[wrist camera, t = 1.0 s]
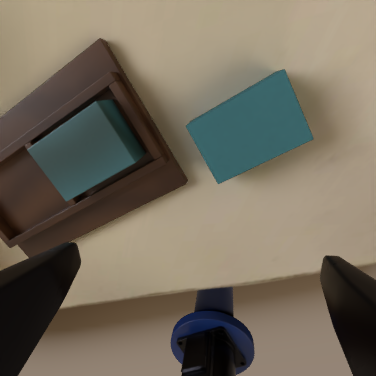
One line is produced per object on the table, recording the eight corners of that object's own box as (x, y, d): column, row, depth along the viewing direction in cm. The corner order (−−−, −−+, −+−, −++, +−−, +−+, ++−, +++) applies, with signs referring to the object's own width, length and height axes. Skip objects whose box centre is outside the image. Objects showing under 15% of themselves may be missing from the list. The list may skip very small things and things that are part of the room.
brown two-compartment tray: (188, 180, 25) (181, 196, 21) (36, 255, 31) (11, 278, 28) (105, 39, 21) (79, 30, 17) (-46, 158, 28) (-88, 169, 24)
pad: (302, 132, 22) (313, 139, 19) (219, 173, 24) (218, 184, 21) (276, 71, 20) (284, 69, 17) (190, 121, 23) (185, 126, 20)
